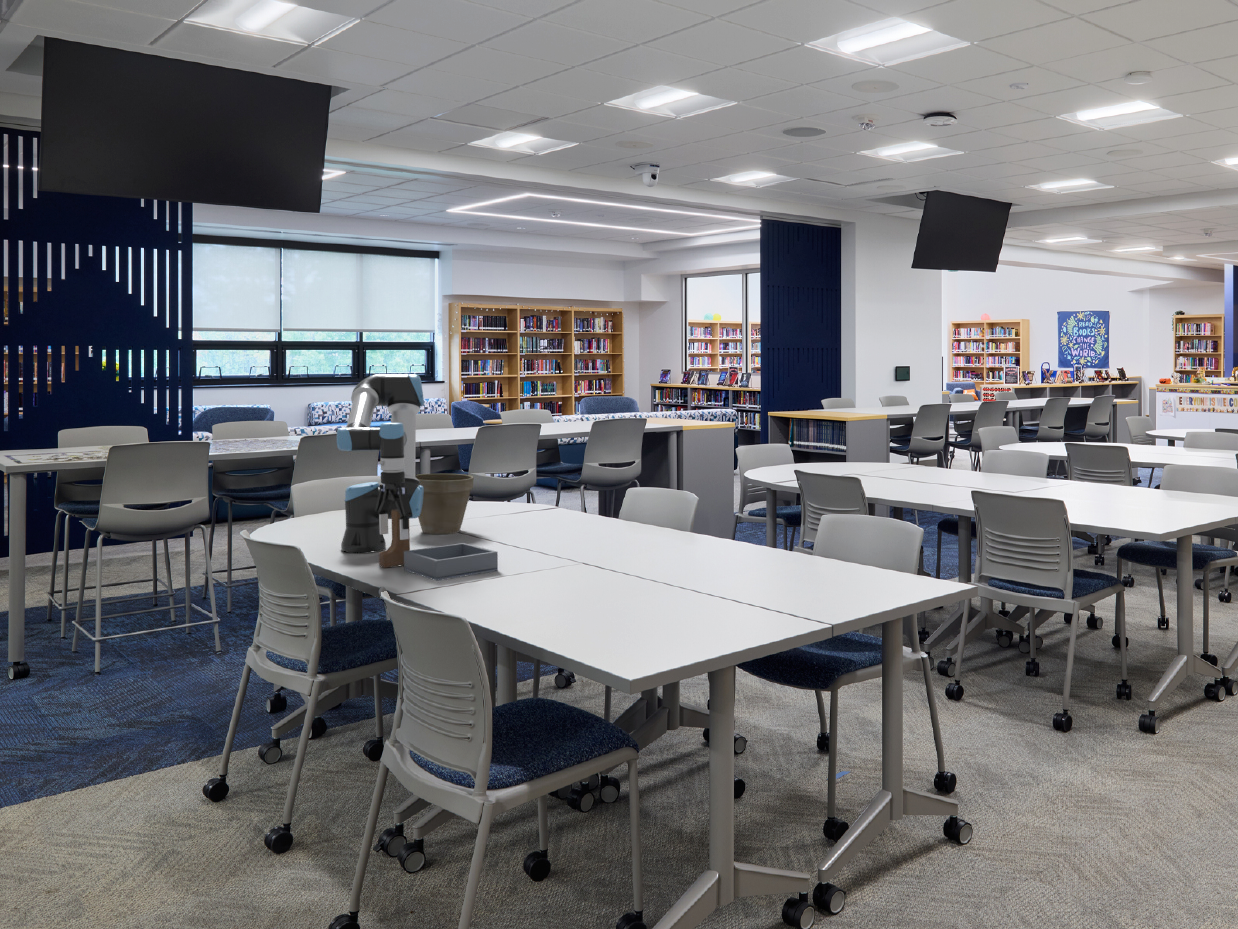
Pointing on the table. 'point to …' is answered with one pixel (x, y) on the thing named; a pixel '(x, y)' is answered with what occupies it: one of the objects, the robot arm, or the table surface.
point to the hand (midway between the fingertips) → (394, 536)
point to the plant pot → (444, 502)
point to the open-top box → (450, 561)
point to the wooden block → (395, 545)
